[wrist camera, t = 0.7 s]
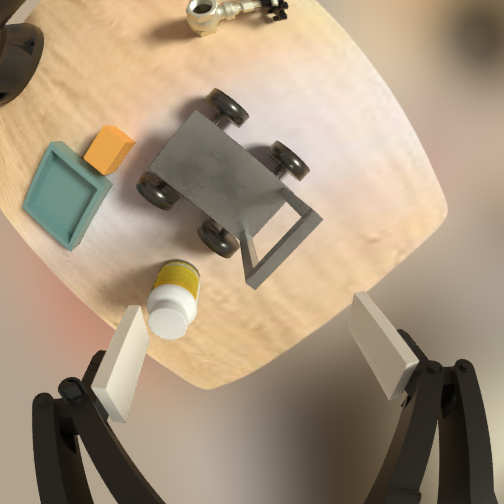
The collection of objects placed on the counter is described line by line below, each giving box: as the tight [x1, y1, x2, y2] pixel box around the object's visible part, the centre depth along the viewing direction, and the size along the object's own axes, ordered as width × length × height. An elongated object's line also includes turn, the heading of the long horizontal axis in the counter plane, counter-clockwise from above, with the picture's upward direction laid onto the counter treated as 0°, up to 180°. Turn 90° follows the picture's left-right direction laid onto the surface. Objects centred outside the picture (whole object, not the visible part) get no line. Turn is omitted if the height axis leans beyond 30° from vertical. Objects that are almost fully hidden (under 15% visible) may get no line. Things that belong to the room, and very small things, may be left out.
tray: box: [22, 141, 113, 252], centre depth 32 cm, size 12×12×3 cm
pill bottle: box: [147, 259, 201, 340], centre depth 35 cm, size 6×6×12 cm
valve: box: [186, 0, 288, 37], centre depth 23 cm, size 7×7×12 cm
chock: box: [84, 126, 135, 175], centre depth 30 cm, size 4×5×4 cm
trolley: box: [136, 88, 323, 290], centre depth 27 cm, size 16×15×18 cm
